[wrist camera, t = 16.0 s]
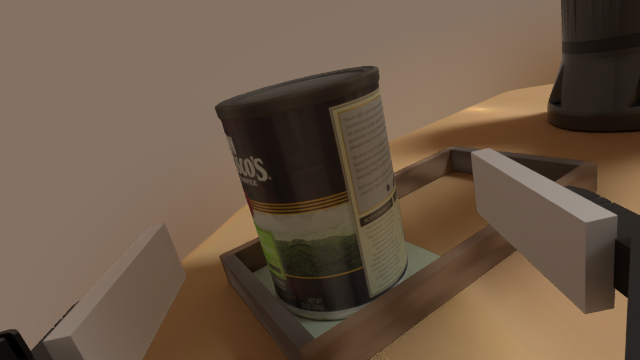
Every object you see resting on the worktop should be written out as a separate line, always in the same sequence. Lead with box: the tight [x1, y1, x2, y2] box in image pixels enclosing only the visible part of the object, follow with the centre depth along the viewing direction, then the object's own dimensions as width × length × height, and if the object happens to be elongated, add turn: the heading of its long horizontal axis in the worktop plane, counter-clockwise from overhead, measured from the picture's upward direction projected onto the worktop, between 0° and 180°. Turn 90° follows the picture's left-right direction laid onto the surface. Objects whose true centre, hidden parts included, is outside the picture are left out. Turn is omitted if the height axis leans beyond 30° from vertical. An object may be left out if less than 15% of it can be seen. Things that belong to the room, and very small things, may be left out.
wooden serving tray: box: [219, 146, 597, 360], centre depth 31 cm, size 28×15×2 cm, turn 122°
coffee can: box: [215, 66, 410, 320], centre depth 26 cm, size 10×10×14 cm
